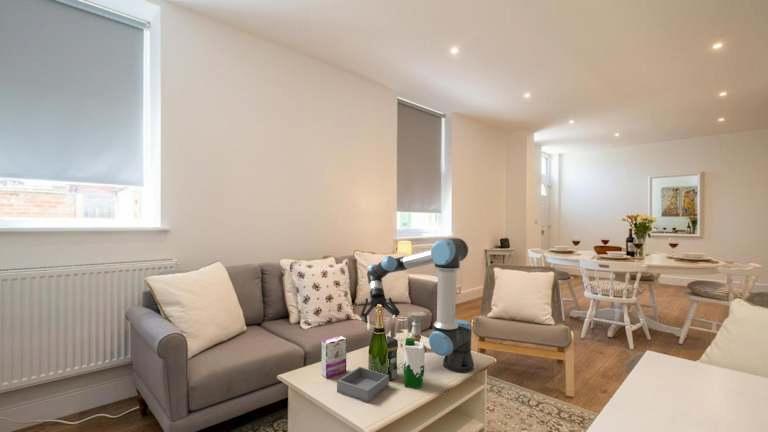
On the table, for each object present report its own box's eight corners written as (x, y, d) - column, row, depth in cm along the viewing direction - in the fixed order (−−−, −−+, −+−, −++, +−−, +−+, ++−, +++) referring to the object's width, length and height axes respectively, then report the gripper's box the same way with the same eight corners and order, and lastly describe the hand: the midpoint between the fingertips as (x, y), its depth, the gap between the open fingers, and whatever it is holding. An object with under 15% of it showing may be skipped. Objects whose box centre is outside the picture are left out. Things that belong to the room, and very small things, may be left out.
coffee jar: (373, 374, 174) (374, 335, 173) (386, 370, 179) (387, 332, 179) (387, 382, 166) (388, 341, 166) (400, 377, 171) (401, 338, 171)
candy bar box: (340, 368, 179) (341, 335, 179) (346, 372, 175) (347, 338, 175) (320, 375, 172) (321, 340, 172) (326, 379, 168) (326, 343, 168)
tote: (388, 386, 163) (388, 375, 163) (367, 402, 148) (367, 390, 148) (359, 377, 171) (359, 366, 171) (336, 392, 157) (337, 380, 156)
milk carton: (405, 378, 171) (406, 335, 170) (424, 381, 169) (425, 337, 168) (402, 387, 162) (403, 342, 162) (422, 390, 160) (424, 344, 160)
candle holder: (431, 351, 205) (432, 314, 205) (413, 355, 199) (414, 317, 198) (417, 343, 216) (418, 309, 215) (400, 347, 209) (401, 312, 209)
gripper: (397, 294, 203) (405, 330, 188) (352, 295, 197) (356, 333, 182) (400, 286, 197) (408, 323, 183) (354, 287, 191) (358, 325, 177)
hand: (382, 328), depth 183 cm, fingers open, 13 cm apart
